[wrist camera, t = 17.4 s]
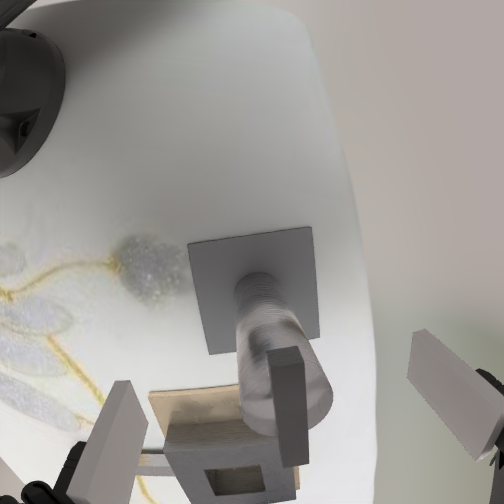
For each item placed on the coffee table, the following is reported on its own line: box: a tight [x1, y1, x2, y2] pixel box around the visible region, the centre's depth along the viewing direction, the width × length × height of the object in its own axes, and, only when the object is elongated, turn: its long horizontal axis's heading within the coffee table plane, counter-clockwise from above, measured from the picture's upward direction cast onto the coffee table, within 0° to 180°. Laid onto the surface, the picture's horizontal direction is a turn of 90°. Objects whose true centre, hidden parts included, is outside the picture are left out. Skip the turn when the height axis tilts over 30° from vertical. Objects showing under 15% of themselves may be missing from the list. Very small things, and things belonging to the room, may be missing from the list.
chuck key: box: [234, 272, 333, 468], centre depth 18 cm, size 6×4×15 cm, turn 7°
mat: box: [187, 227, 320, 355], centre depth 26 cm, size 10×10×1 cm
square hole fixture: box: [136, 385, 300, 504], centre depth 27 cm, size 20×20×5 cm
